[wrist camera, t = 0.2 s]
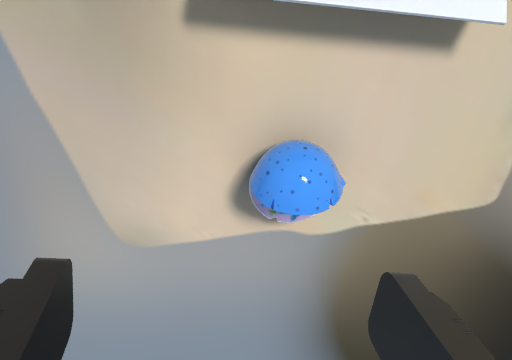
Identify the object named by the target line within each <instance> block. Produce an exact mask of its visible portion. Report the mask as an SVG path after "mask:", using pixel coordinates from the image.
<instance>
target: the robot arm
mask: <svg viewBox="0 0 512 360" xmlns="http://www.w3.org/2000/svg"><path fill="white" fill-rule="evenodd" d="M72 281H73V279H72V262H71V260H70V259H56V258H36V259H35V260H34V261H33V263H32V265H31V266H30V268H29V269H28V271H27V273H26V275H25V276H24V278H23V279H7V280H5V281H4V282H3V283H1V284H0V360H61V359H62V356H63V354H64V351H65V348H66V345H67V343H68V340H69V337H70V333H71V327H72V322H73V282H72ZM461 320H462V319H461V318H460V317H459V316H458V315H457V313H456V312H455V311H454V310H453V309H452V307H451V306H450V305H448V304H447V303H446V302H444V301H443V300H442V299H440V298H439V297H438V296H436V295H435V294H433V293H432V292H429V291H428V290H427V289H426V287H425V286H424V285H423V284H422V283H421V281H420V280H419V279H418V277H417V276H416V275H414V274H413V273H394V272H393V273H392V272H386V273H384V274H383V275H382V277H381V278H380V282H379V285H378V289H377V292H376V295H375V299H374V302H373V306H372V309H371V313H370V316H369V321H368V330H369V336H370V339H371V342H372V344H373V346H374V348H375V350H376V352H377V354H378V355H379V357H380V359H381V360H495V358H494V357H493V356H492V355H491V354H490V352H489V351H488V350H487V349H486V348H485V347H484V345H483V344H482V343H481V342H480V341H479V339H478V338H477V337H476V336H475V335H474V334H472V331H471V330H470V329H469V328H468V327H467V325H466V324H465V323H464V322H462V321H461Z"/></svg>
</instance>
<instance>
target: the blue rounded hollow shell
mask: <svg viewBox="0 0 512 360" xmlns="http://www.w3.org/2000/svg"><path fill="white" fill-rule="evenodd" d="M345 184H346V183H345V181H344V180H343V178H342V177H341V175H340V173H339V171H338V169H337V167H336V165H335V163H334V161H333V160H332V158H331V157H330V155H329V154H328V153H327V152H326V151H325V150H324V149H322V148H321V147H319V146H317V145H315V144H313V143H311V142H307V141H303V140H289V141H285V142H282V143H279V144H277V145H275V146H273V147H272V148H270V149H269V150H268V151H267V152H266V153H265V154H264V155H263V156H262V157H261V159H260V160H259V162H258V163H257V165H256V166H255V168H254V170H253V172H252V174H251V176H250V181H249V194H250V197H251V200H252V202H253V204H254V206H255V207H256V209H257V210H258V211H259V212H260V213H261V214H262V215H264V216H265V217H266V218H268V219H272V218H276V219H277V221H278V222H284V223H293V222H298V221H302V220H305V219H307V218H310V217H315V216H316V214H317V213H320V212H323V211H325V210H328V209H329V204H330V205H332V206H334V205H335V204H336V203H337V202H338V201H339V199H340V197H341V195H342V192H343V186H344V185H345Z"/></svg>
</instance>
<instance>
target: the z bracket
mask: <svg viewBox="0 0 512 360" xmlns="http://www.w3.org/2000/svg"><path fill="white" fill-rule="evenodd" d="M275 1H284V2H294V3H303V4H312V5H322V6H331V7H340V8H350V9H359V10H368V11H378V12H387V13H396V14H406V15H415V16H424V17H434V18H443V19H452V20H462V21H471V22H480V23H490V24H499V25H504V24H506V10H507V0H275Z"/></svg>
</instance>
